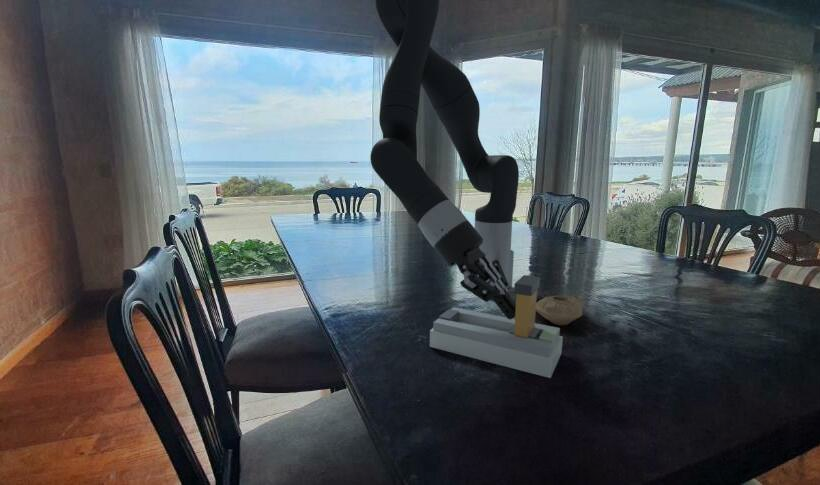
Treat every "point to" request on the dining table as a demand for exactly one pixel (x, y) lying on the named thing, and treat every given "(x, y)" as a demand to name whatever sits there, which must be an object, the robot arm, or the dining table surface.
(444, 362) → the dining table surface
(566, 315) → the pottery oil lamp
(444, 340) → the base
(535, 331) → the breaker lever
